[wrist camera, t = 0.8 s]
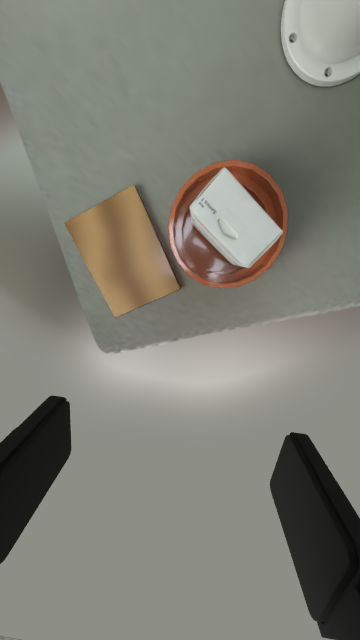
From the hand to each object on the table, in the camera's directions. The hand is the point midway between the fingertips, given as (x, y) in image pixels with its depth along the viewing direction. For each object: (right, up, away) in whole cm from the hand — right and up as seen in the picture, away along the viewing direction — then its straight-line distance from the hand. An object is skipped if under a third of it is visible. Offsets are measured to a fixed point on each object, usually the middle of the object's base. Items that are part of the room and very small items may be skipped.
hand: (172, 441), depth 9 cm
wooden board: (-8, +15, +25) cm, 30 cm away
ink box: (+7, +18, +23) cm, 30 cm away
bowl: (+7, +18, +23) cm, 30 cm away
